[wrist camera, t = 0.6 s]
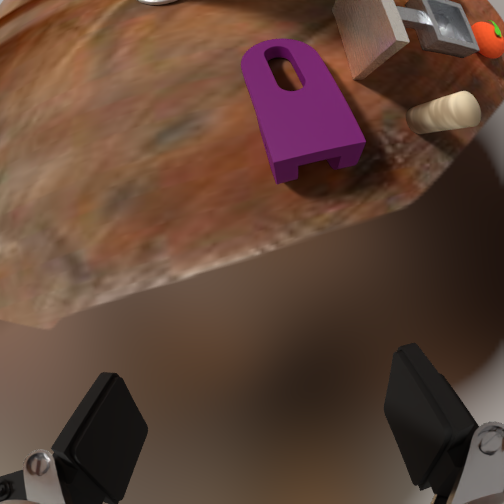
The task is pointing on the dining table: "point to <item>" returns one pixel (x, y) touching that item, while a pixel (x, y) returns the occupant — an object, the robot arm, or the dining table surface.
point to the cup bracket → (400, 30)
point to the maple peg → (445, 114)
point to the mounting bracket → (300, 111)
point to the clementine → (488, 39)
